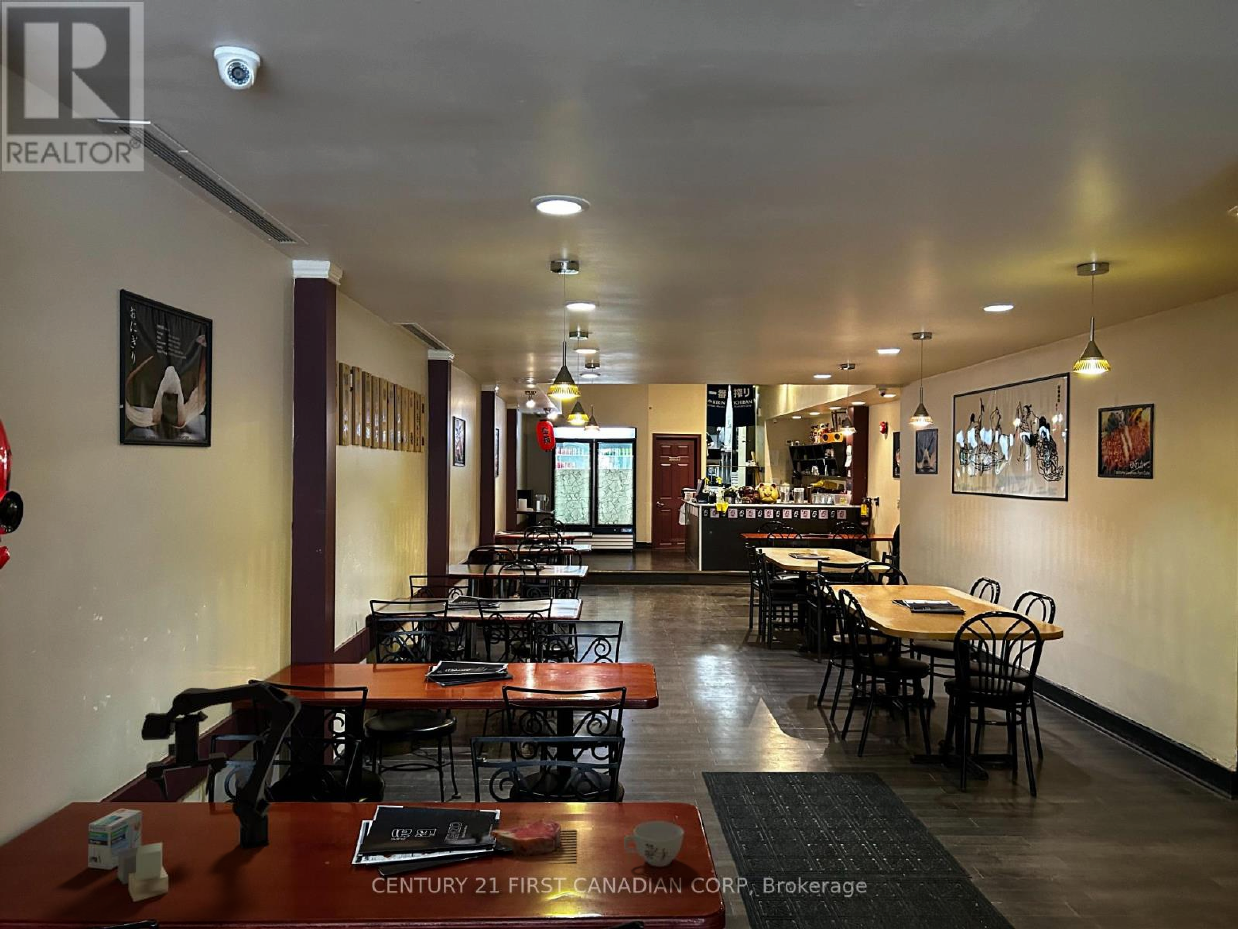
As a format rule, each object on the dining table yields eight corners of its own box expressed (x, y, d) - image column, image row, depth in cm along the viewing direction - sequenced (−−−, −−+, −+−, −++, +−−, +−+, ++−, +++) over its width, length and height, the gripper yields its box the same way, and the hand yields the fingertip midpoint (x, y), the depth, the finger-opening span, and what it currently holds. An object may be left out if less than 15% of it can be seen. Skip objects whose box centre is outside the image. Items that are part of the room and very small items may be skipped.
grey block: (140, 870, 209) (140, 846, 209) (146, 877, 205) (146, 852, 205) (117, 877, 205) (118, 852, 205) (123, 884, 202) (123, 859, 202)
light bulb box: (110, 870, 209) (110, 826, 209) (86, 868, 210) (87, 824, 210) (142, 852, 219) (143, 809, 220) (120, 849, 221) (120, 807, 221)
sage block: (161, 868, 202) (162, 842, 202) (160, 877, 198) (160, 851, 198) (137, 871, 200) (138, 846, 200) (135, 881, 196) (136, 854, 196)
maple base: (162, 882, 203) (162, 865, 203) (168, 893, 198) (168, 876, 198) (128, 891, 199) (128, 874, 199) (133, 903, 194) (134, 885, 194)
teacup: (679, 850, 220) (679, 819, 220) (687, 872, 208) (687, 839, 208) (621, 852, 219) (621, 821, 219) (626, 874, 207) (626, 841, 207)
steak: (576, 832, 233) (576, 812, 233) (576, 867, 212) (576, 845, 212) (484, 834, 232) (485, 814, 232) (475, 869, 211) (475, 847, 211)
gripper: (224, 725, 234) (223, 782, 234) (146, 735, 225) (146, 794, 225) (227, 736, 225) (226, 796, 224) (146, 747, 216) (145, 809, 215)
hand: (186, 798), depth 223 cm, fingers open, 9 cm apart
